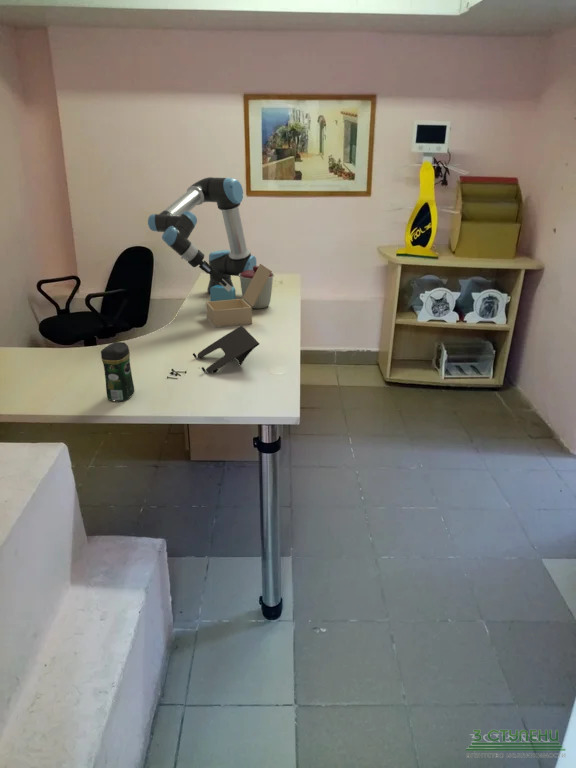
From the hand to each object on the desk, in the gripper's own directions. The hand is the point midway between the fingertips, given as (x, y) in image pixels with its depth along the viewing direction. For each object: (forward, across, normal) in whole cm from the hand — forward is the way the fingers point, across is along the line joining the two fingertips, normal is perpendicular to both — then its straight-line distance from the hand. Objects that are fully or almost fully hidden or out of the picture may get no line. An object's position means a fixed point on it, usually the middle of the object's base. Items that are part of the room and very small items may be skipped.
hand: (230, 289), depth 265 cm
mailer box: (+10, 0, -12) cm, 15 cm away
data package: (+12, -19, -10) cm, 25 cm away
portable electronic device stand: (-1, +52, -23) cm, 57 cm away
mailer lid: (+8, 0, +10) cm, 13 cm away
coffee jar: (-30, +70, -52) cm, 92 cm away
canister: (+24, -20, +3) cm, 32 cm away
